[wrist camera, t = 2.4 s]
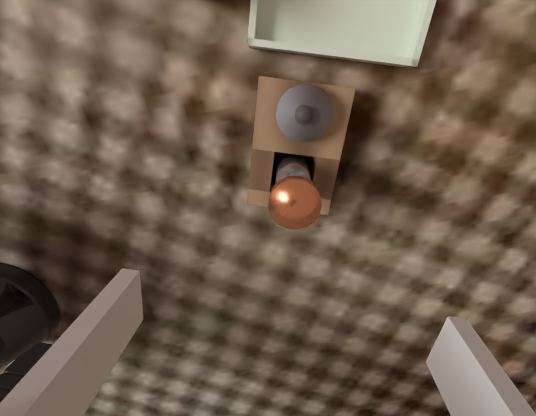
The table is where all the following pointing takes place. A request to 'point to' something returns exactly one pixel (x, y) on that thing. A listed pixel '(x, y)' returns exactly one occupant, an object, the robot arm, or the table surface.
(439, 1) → the table surface
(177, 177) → the table surface
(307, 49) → the tray
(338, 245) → the table surface
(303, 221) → the pin
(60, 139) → the table surface
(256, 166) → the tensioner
